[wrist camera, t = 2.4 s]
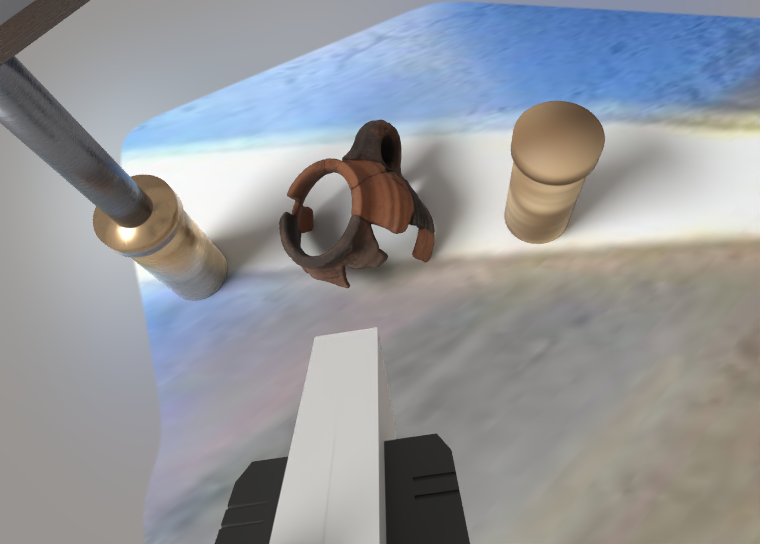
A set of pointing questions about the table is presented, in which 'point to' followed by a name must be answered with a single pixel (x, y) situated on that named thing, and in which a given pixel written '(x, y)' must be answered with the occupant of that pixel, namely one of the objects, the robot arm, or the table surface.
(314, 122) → the table surface
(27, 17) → the aperture bracket
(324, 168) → the broken brown pot
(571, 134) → the oak collar post
